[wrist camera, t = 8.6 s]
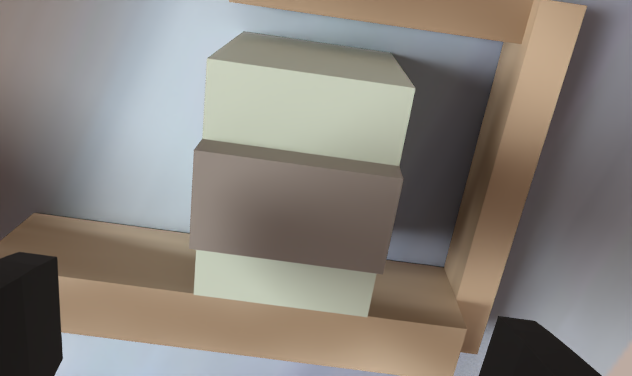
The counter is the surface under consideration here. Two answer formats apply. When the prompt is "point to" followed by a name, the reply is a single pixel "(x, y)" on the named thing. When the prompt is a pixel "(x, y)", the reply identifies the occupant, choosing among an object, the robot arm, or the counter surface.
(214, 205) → the cabinet box
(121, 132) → the counter surface
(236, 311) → the tan piece
